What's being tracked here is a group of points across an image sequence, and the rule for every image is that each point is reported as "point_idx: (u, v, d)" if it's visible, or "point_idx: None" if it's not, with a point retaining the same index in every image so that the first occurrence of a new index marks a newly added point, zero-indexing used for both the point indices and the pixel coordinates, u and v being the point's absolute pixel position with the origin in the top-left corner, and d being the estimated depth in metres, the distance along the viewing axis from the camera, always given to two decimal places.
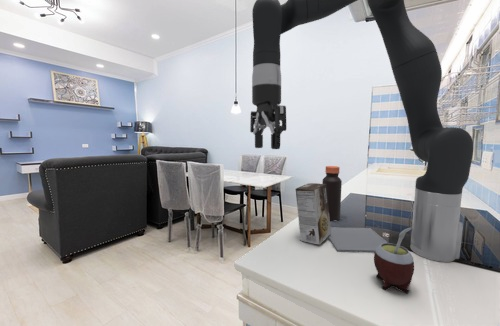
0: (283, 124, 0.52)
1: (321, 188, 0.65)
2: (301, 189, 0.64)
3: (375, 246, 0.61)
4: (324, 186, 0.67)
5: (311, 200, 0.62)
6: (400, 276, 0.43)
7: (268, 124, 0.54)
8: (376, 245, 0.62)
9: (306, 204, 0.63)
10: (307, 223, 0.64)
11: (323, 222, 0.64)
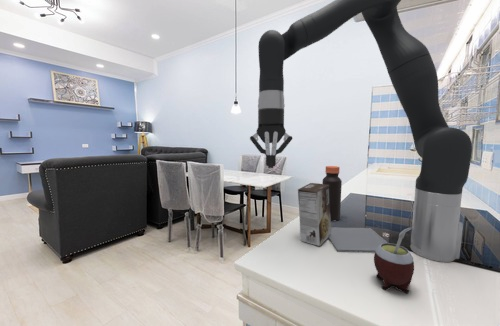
0: None
1: (324, 190, 0.64)
2: (304, 190, 0.63)
3: (375, 246, 0.61)
4: (327, 187, 0.66)
5: (313, 202, 0.61)
6: (400, 276, 0.43)
7: (274, 146, 0.63)
8: (376, 245, 0.62)
9: (308, 206, 0.62)
10: (308, 224, 0.63)
11: (324, 224, 0.64)
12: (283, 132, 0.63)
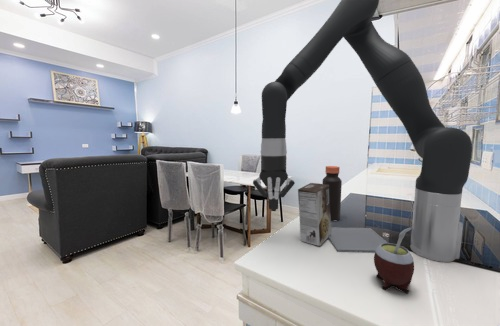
0: None
1: (324, 190, 0.64)
2: (304, 190, 0.63)
3: (375, 246, 0.61)
4: (327, 187, 0.65)
5: (313, 202, 0.61)
6: (400, 276, 0.43)
7: (277, 191, 0.65)
8: (376, 245, 0.62)
9: (308, 206, 0.62)
10: (308, 224, 0.63)
11: (324, 224, 0.64)
12: (285, 177, 0.64)
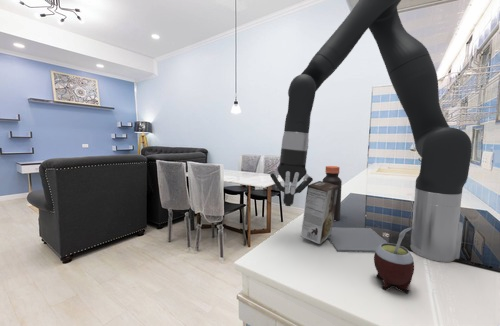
0: None
1: (334, 190, 0.63)
2: (314, 187, 0.62)
3: (375, 246, 0.61)
4: (336, 188, 0.65)
5: (321, 200, 0.61)
6: (400, 276, 0.43)
7: (294, 186, 0.63)
8: (376, 245, 0.62)
9: (316, 203, 0.62)
10: (312, 222, 0.63)
11: (327, 223, 0.64)
12: (304, 173, 0.63)
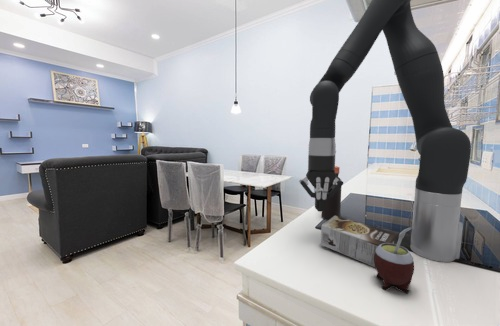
0: (330, 191, 0.66)
1: None
2: None
3: None
4: None
5: (369, 260, 0.53)
6: (400, 276, 0.43)
7: (325, 191, 0.64)
8: None
9: (364, 252, 0.53)
10: (341, 242, 0.57)
11: None
12: (334, 177, 0.64)
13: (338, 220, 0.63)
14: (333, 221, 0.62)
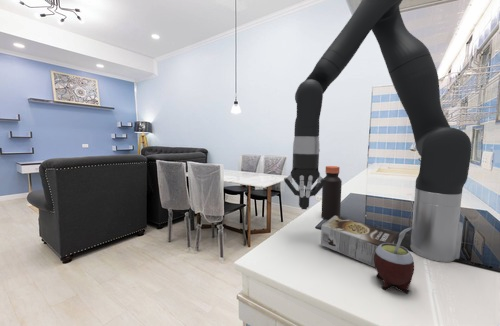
0: None
1: None
2: None
3: None
4: None
5: (369, 260, 0.53)
6: (400, 276, 0.43)
7: (309, 189, 0.64)
8: None
9: (364, 252, 0.53)
10: (341, 242, 0.57)
11: None
12: (317, 175, 0.64)
13: (338, 220, 0.63)
14: (333, 221, 0.62)
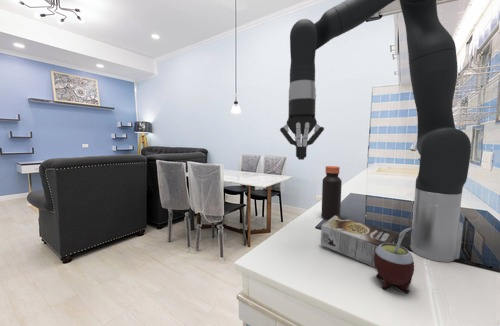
0: None
1: None
2: None
3: None
4: None
5: (369, 260, 0.53)
6: (400, 276, 0.43)
7: (306, 137, 0.62)
8: None
9: (364, 252, 0.53)
10: (341, 242, 0.57)
11: None
12: (314, 123, 0.62)
13: (338, 220, 0.63)
14: (333, 221, 0.62)
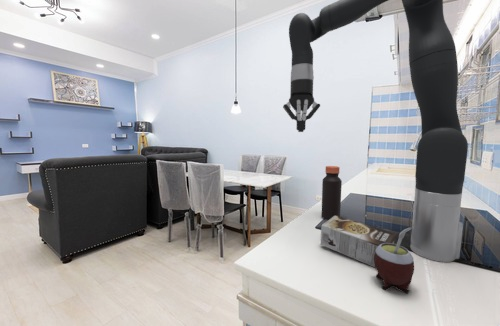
0: None
1: None
2: None
3: None
4: None
5: (369, 260, 0.53)
6: (400, 276, 0.43)
7: (305, 112, 0.74)
8: None
9: (364, 252, 0.53)
10: (341, 242, 0.57)
11: None
12: (312, 100, 0.74)
13: (338, 220, 0.63)
14: (333, 221, 0.62)
